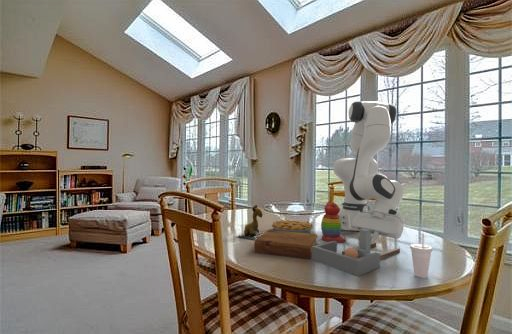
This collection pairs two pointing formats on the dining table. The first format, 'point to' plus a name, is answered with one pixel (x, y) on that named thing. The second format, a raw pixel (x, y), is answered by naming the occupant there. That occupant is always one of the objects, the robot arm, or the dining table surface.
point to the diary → (286, 244)
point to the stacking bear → (331, 224)
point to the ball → (351, 252)
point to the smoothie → (421, 258)
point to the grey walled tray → (344, 259)
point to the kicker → (364, 243)
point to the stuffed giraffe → (253, 224)
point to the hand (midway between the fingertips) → (368, 241)
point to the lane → (384, 254)
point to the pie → (292, 226)
